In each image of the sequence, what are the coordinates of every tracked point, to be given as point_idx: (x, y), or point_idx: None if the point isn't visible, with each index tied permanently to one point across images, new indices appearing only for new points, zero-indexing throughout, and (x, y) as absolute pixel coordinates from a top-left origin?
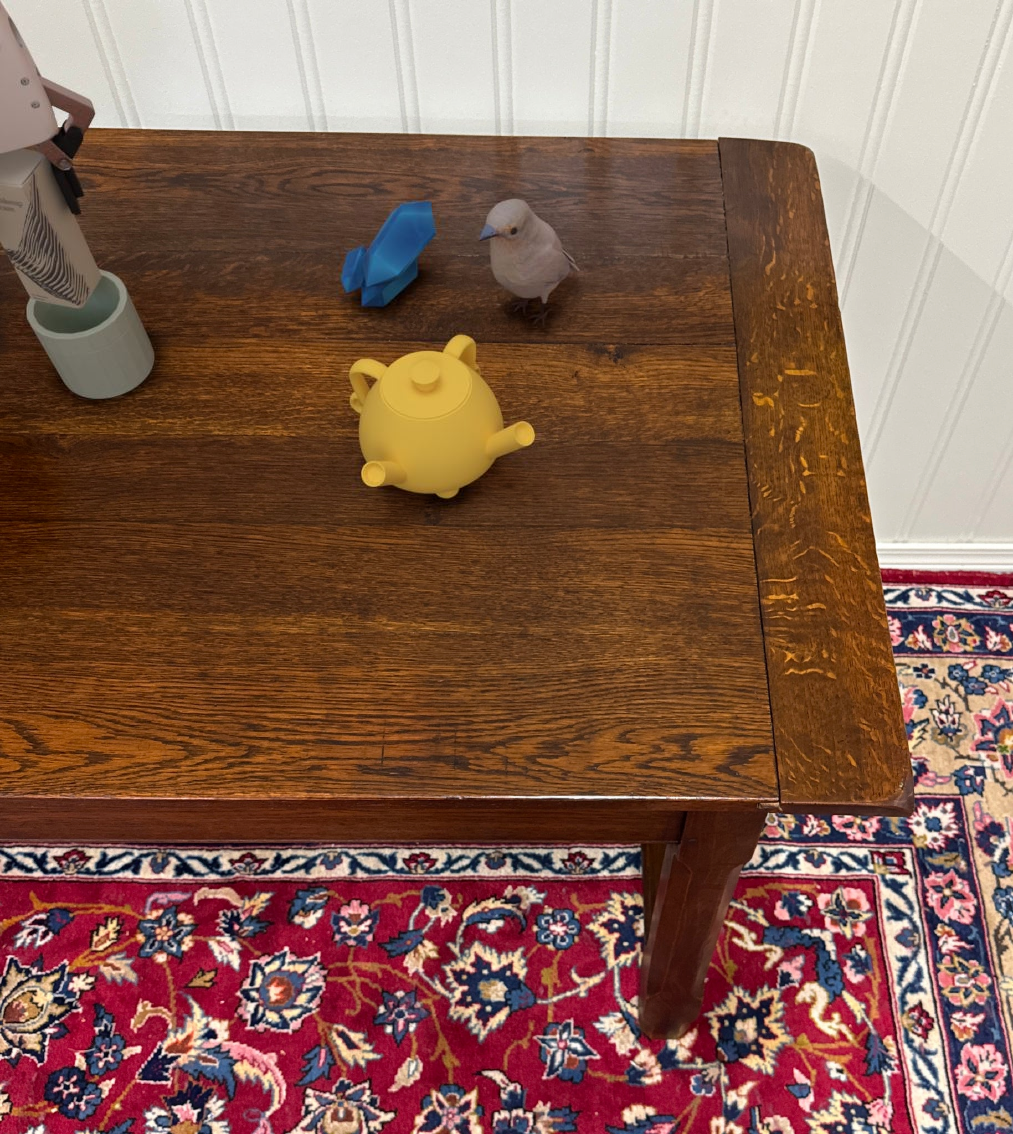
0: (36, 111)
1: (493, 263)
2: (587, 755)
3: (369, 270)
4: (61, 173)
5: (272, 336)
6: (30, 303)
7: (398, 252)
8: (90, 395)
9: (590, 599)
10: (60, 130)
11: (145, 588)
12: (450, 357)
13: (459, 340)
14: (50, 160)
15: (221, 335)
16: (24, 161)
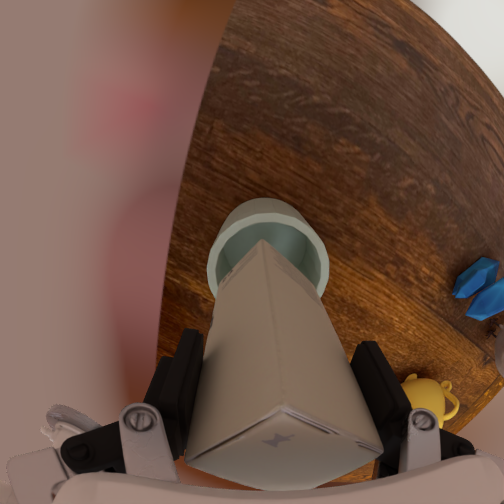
0: None
1: (502, 375)
2: (341, 477)
3: (476, 315)
4: None
5: (395, 280)
6: (216, 248)
7: (493, 314)
8: None
9: None
10: (441, 460)
11: None
12: (441, 426)
13: (453, 415)
14: (373, 476)
15: (365, 259)
16: (331, 470)
